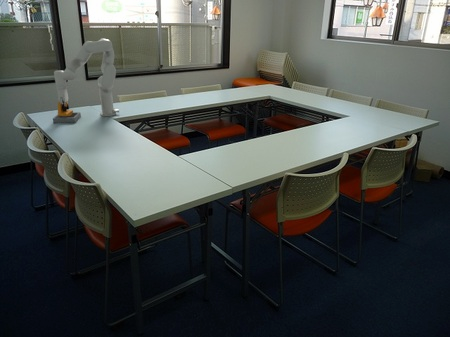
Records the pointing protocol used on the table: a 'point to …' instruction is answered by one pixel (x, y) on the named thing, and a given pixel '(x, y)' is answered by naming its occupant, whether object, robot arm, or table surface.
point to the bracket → (60, 112)
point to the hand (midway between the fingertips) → (65, 110)
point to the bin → (67, 118)
